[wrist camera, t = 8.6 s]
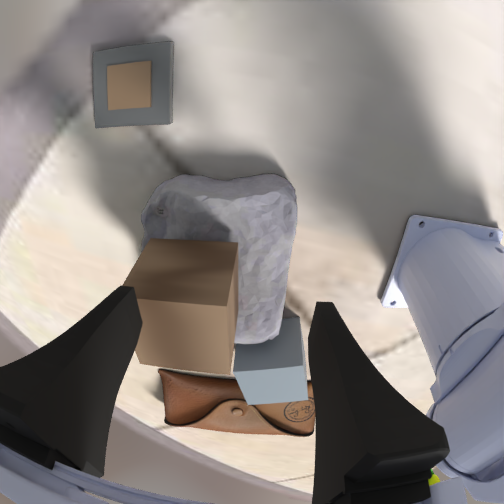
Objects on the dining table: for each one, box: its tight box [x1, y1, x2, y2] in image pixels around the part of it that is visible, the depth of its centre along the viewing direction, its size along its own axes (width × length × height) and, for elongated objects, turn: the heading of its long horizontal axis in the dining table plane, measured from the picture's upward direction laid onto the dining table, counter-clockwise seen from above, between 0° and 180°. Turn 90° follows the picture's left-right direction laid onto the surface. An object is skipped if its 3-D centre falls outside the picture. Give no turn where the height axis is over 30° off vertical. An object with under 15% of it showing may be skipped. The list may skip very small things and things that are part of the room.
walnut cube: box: [122, 238, 239, 375], centre depth 16 cm, size 5×5×5 cm
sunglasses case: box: [158, 369, 315, 437], centre depth 31 cm, size 18×7×7 cm
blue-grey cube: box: [233, 317, 308, 405], centre depth 24 cm, size 5×5×5 cm
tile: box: [93, 41, 174, 128], centre depth 15 cm, size 5×5×1 cm
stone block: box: [141, 174, 297, 344], centre depth 21 cm, size 12×5×10 cm
